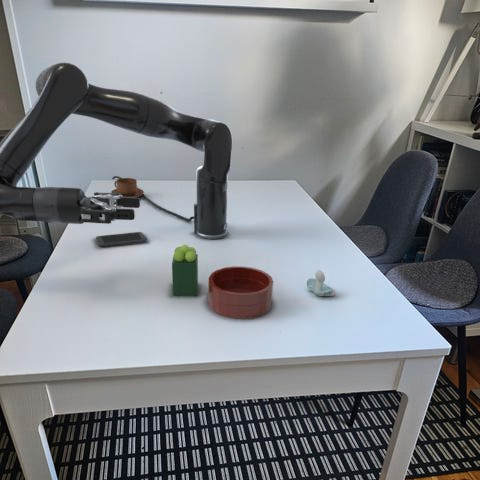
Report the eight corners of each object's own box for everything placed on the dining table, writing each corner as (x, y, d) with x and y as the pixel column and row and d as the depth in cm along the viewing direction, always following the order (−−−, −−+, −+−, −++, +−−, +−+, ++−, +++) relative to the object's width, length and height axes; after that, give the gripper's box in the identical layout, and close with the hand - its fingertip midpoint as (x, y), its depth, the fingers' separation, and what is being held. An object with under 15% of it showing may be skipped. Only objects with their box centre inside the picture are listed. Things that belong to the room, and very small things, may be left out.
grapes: (173, 295, 108) (171, 249, 102) (175, 285, 113) (173, 240, 107) (196, 296, 108) (196, 250, 102) (197, 285, 113) (197, 240, 107)
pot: (196, 306, 104) (195, 283, 101) (229, 283, 115) (230, 261, 112) (252, 325, 98) (253, 301, 95) (281, 299, 109) (283, 276, 106)
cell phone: (95, 238, 137) (95, 236, 136) (141, 233, 142) (141, 231, 141) (99, 247, 131) (98, 244, 131) (147, 242, 136) (147, 239, 135)
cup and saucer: (106, 199, 171) (104, 183, 168) (119, 191, 181) (117, 175, 178) (137, 202, 170) (136, 185, 166) (148, 193, 180) (147, 178, 177)
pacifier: (321, 284, 117) (302, 288, 114) (325, 261, 114) (306, 265, 111) (340, 296, 112) (321, 301, 109) (344, 273, 108) (325, 277, 106)
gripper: (48, 197, 90) (131, 200, 92) (67, 179, 102) (140, 182, 104) (53, 233, 94) (133, 236, 95) (71, 212, 106) (142, 215, 108)
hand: (137, 208), depth 100 cm, fingers open, 8 cm apart
